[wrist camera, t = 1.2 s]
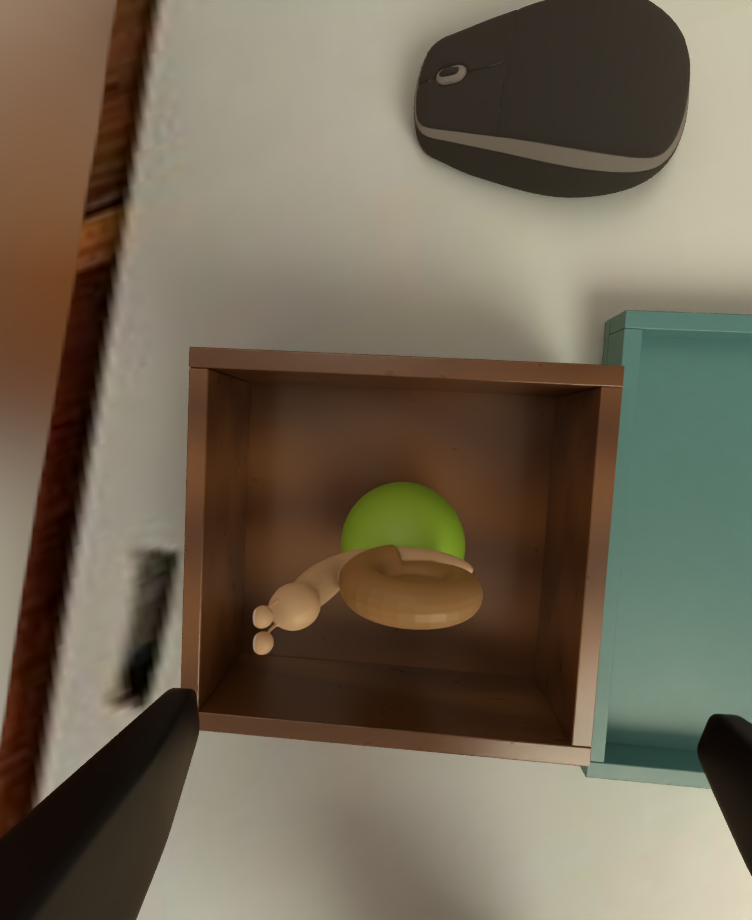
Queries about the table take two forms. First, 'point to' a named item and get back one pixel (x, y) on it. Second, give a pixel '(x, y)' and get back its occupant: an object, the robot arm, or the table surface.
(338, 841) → the table surface
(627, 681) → the tray
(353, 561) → the snail figurine
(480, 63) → the computer mouse
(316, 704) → the wooden box
